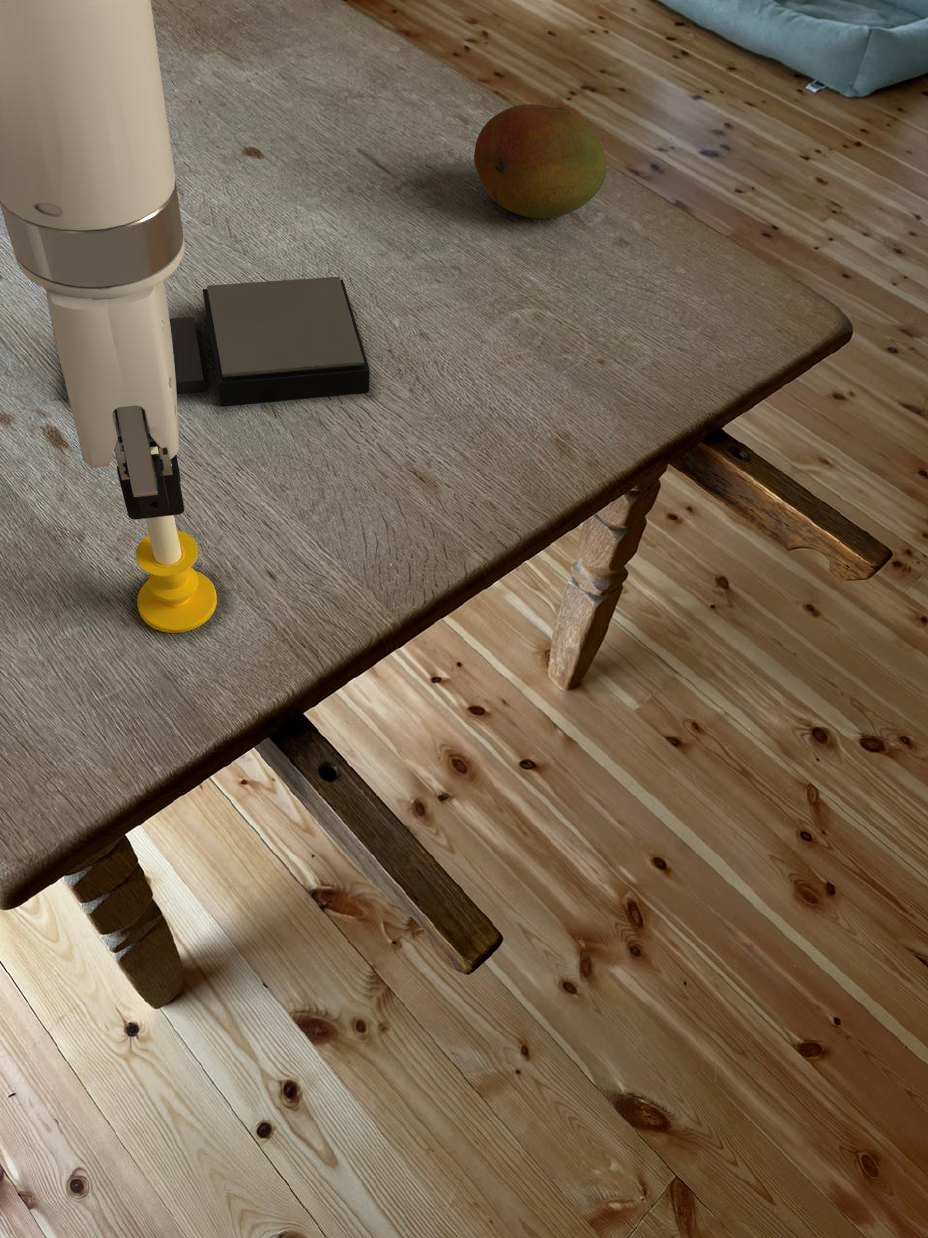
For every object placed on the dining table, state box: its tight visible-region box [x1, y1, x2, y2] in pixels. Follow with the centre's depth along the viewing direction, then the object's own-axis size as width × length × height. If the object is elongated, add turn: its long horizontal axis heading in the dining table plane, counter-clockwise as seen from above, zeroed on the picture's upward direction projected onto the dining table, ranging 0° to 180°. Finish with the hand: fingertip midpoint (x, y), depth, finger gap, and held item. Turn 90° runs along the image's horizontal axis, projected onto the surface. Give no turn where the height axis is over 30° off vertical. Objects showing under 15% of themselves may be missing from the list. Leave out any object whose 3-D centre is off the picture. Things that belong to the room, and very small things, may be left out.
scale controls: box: [169, 316, 206, 394], centre depth 81 cm, size 10×8×3 cm
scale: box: [201, 276, 371, 407], centre depth 84 cm, size 12×12×3 cm
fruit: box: [473, 103, 607, 219], centre depth 98 cm, size 12×13×10 cm
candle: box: [135, 447, 218, 634], centre depth 62 cm, size 5×5×16 cm
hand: (155, 497), depth 60 cm, fingers closed on candle
